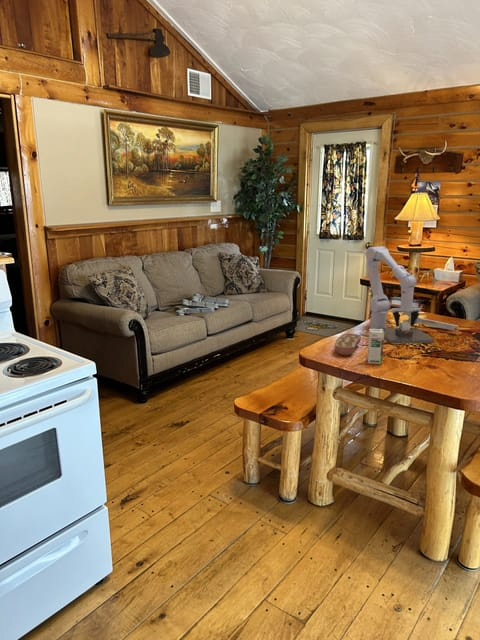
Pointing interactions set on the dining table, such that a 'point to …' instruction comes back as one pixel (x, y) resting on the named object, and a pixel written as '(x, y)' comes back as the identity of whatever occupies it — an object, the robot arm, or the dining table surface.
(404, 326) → the grey block
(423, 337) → the stand
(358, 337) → the brown rounded block
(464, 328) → the dining table surface
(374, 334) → the syrup box
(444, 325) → the wrench
